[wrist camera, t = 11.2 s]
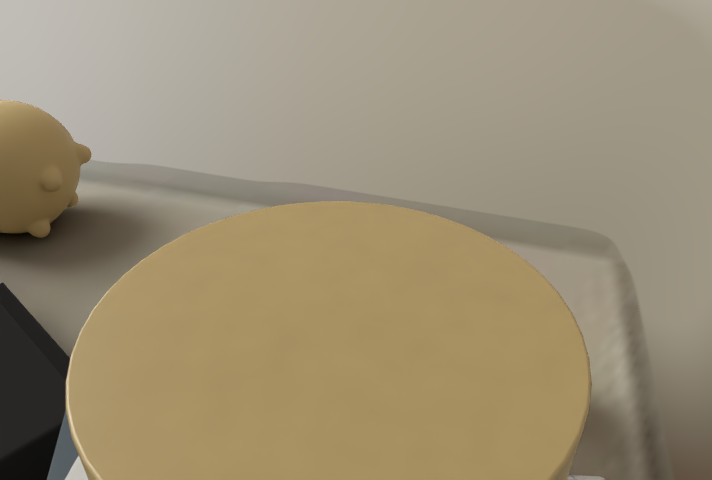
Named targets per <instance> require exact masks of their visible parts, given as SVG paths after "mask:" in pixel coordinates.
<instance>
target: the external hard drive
mask: <svg viewBox="0 0 712 480" xmlns="http://www.w3.org/2000/svg"><path fill="white" fill-rule="evenodd" d="M69 362H70V358H69V357H68V356H67V355H66V353H65V352H64V351H63V350H62V349H61V348H60V347H59V346H58V344H57V343H56V342H55V341H54V340H53V339H52V338H51V336H50V335H49V334H48V333H47V332H46V331H45V330H44V329H43V327H42V326H41V325H40V324H39V323H38V322H37V321H36V320H35V318H34V317H33V316H32V315H31V314H30V313H29V312H28V310H27V309H26V308H25V307H24V306H23V305H22V304H21V303H20V301H19V300H18V299H17V298H16V297H15V296H14V295H13V293H12V292H11V291H10V290H9V289H8V288H7V287H6V286H5V284H4V283H1V284H0V480H47V477H48V474H49V470H50V466H51V463H52V459H53V455H54V451H55V448H56V444H57V440H58V437H59V433H60V429H61V426H62V422H63V418H64V415H65V411H66V378H67V373H68V367H69Z"/></svg>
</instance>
